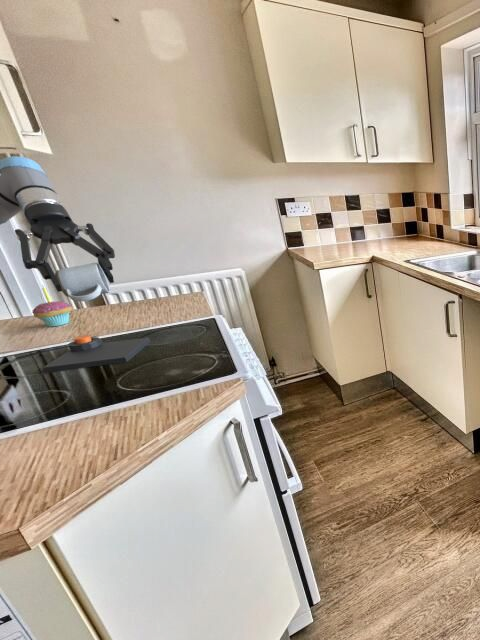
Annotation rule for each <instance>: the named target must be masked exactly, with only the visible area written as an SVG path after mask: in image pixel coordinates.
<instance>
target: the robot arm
mask: <svg viewBox="0 0 480 640" xmlns="http://www.w3.org/2000/svg"><path fill="white" fill-rule="evenodd" d="M20 212H22V213H23V215H24V217H25V219H26V221H27V223H28V225H29V226H30V228H29V229H27V230H22V229H20V228H16V229H14V233H15V236H16V239H17V240H18V241H19V244H20V251H21V257H22V259H21V260H22V263H23V265H24V267H25V269H27V270H33V269H36V270H37V271H38V272H39V273H40V276H41V277H42V279H44V280H50V281H51V282H52V284H53V286H54V288H55V290H56V291H57V293H60V292H62V288H61V285H60V283H59V281H58V279H57V278H56V276H55V272H54V270H53V268H52V267H51V265H50V263H49V262H48V260H49V255H50V252H51V249H52V248H53V245H60V244H73V245H74V246H76V247H79V248H81V249H82V250H84V251H85V252H87V253H88V254H90V255H92V256H93V257H95V258H96V259H97V263H98V264H99V265H100V267H101V268H102V270H103V272H104V274H105V276H106V279H107V281H108V283H109V284H113V283H114V282H115V281H114V280H115V279H114V275H113V274H112V272H111V271H113V269H114V268H113V267H114V266H113V264H112V262H111V260H110V259H115V258H116V253H115V249H113V247H112V246H111V245H110V244H109V243H108V242H107V241H106V240H105V239H104V238H103V237H102V236H101V235H100V234H99V233H98V232H97V231H96V230H95V228H94V224H92V223H90V222H87V223H86V225H78V224H77V223H75V222H74V221H73V219H72V217H71V216H70V214H69V212H68V210H67V209H66V207H65V205H64V204H63V202H62V201H61V198H60V197H59V196H58V194H57V192H56V191H55V189H54V187H53V185H52V182H51V181H50V179H49V177H48V174H47V173H46V172H44V170H43V168H42V167H41V166H40V164H39V163H37V162H36V161H35V160H33V159H31V158H28V157H24V156H17V155H16V156H15V155H14V156H8V157H4V158H2V159H1V160H0V226H1V225H3V224H5V223H7V222H8V221H10V220H11V219H12V218H14V217H15V216H16V215H18V214H20ZM80 232H81V233H83V234H84V235H86V236H88V237H89V238H90V239H91V241H93V243H94V244H93V243H91V242H90V241H88V240H87V239H85V238H84V237H82V236H81V235H80V234H79V233H80ZM32 237H35V238H37V239H40V240H41V241H40V244H39V248H38V250H37V254H36V258H35V260H34V259H32V252H31V246H30V241H31V240H32Z"/></svg>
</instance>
